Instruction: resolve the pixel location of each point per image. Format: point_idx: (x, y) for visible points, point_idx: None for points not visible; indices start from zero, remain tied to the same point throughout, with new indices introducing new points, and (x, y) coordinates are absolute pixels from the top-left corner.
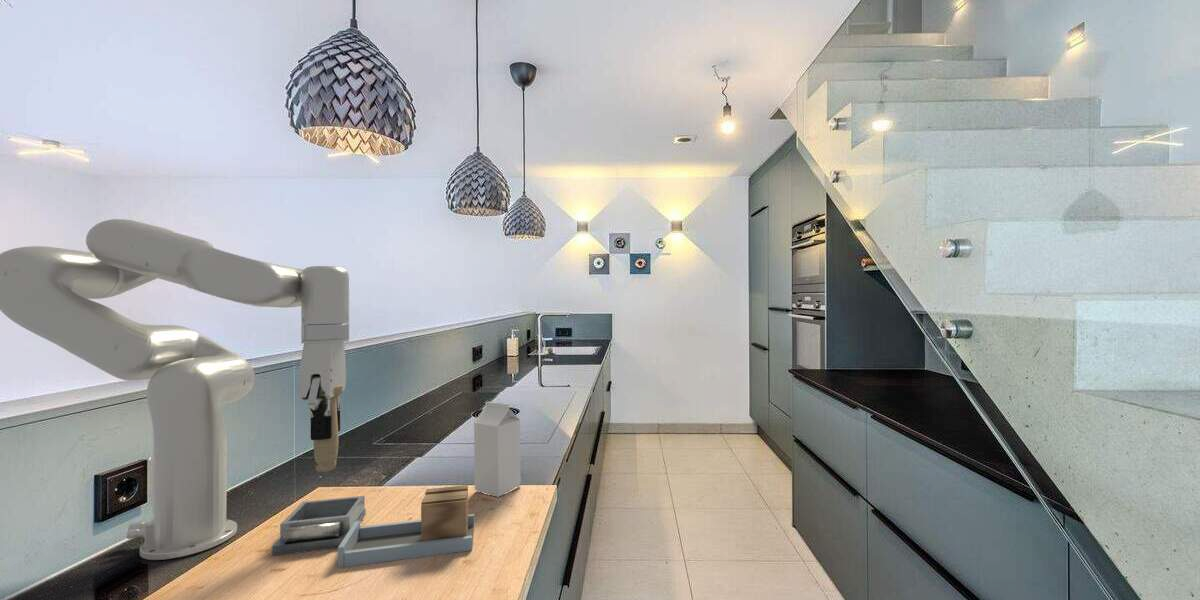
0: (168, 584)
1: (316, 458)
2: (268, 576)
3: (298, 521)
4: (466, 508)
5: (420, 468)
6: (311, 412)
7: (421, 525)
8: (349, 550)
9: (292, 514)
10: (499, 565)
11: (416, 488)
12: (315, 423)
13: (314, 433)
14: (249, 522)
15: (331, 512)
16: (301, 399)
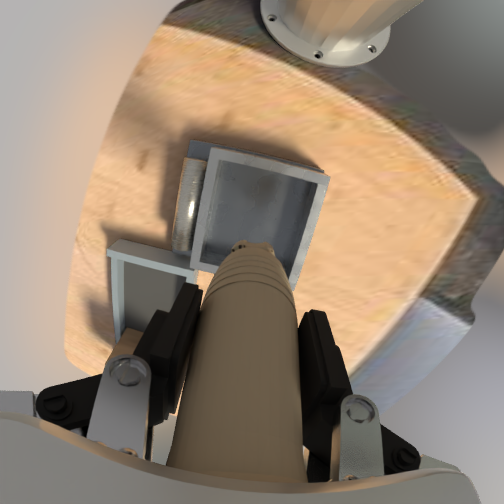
0: (171, 29)
1: (227, 257)
2: (128, 152)
3: (207, 180)
4: None
5: (443, 342)
6: (104, 380)
7: (115, 346)
8: (117, 259)
9: (255, 163)
10: (95, 366)
11: (367, 341)
12: (140, 347)
13: (156, 311)
14: (376, 85)
15: (300, 224)
16: (11, 412)
